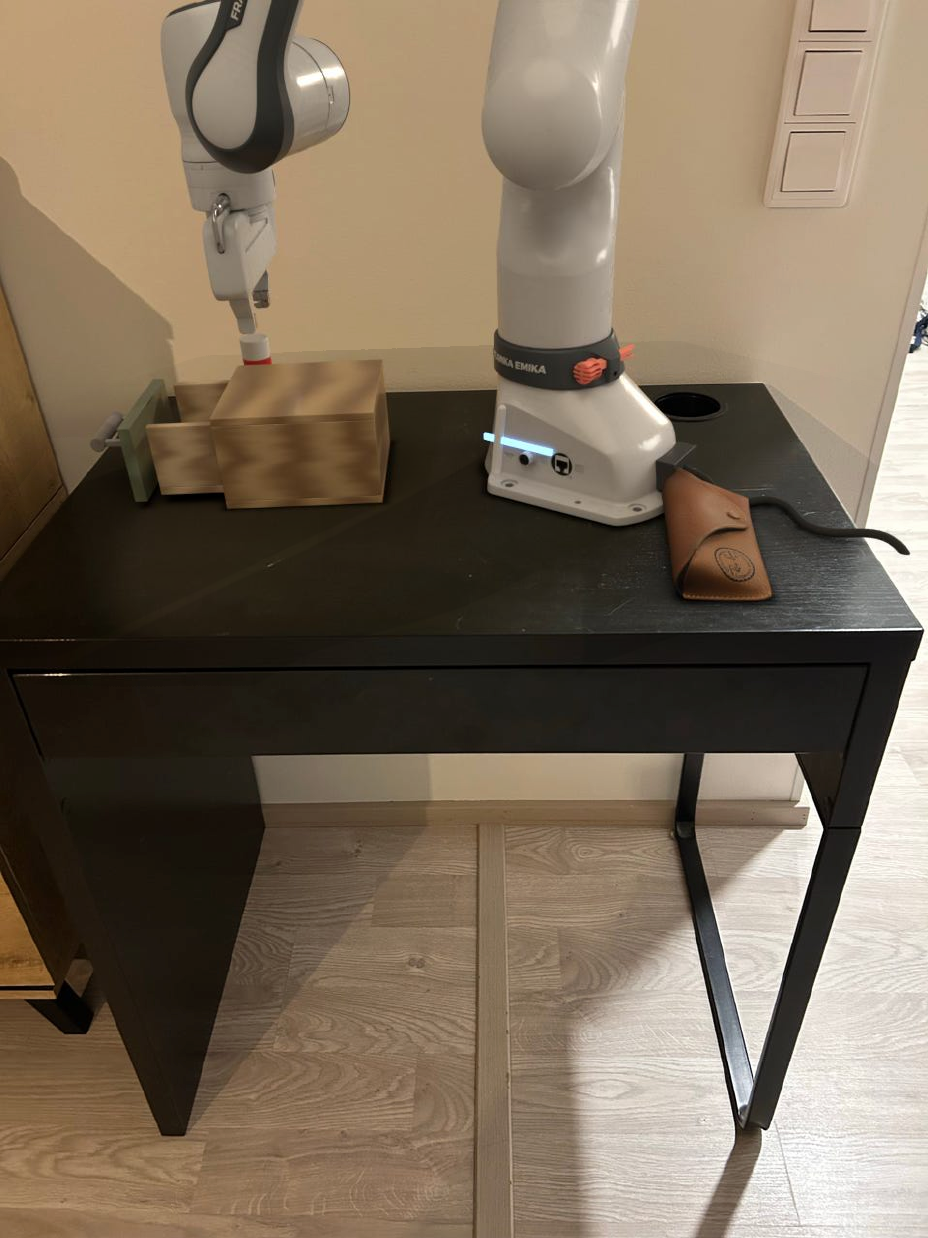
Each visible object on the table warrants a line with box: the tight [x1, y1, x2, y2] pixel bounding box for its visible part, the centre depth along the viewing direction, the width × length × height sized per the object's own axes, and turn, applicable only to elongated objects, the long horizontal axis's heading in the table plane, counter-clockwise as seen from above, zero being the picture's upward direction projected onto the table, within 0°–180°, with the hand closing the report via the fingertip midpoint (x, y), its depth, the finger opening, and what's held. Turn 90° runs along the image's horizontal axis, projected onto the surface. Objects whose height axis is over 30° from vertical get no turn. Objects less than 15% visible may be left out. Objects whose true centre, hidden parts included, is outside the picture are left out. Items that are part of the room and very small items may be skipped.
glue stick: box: [238, 332, 273, 365], centre depth 111 cm, size 3×3×10 cm
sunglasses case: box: [661, 468, 773, 603], centre depth 85 cm, size 18×7×7 cm
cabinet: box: [209, 358, 391, 510], centre depth 99 cm, size 16×15×10 cm
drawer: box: [89, 378, 230, 503], centre depth 99 cm, size 19×13×8 cm
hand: (256, 318), depth 107 cm, fingers open, 8 cm apart
